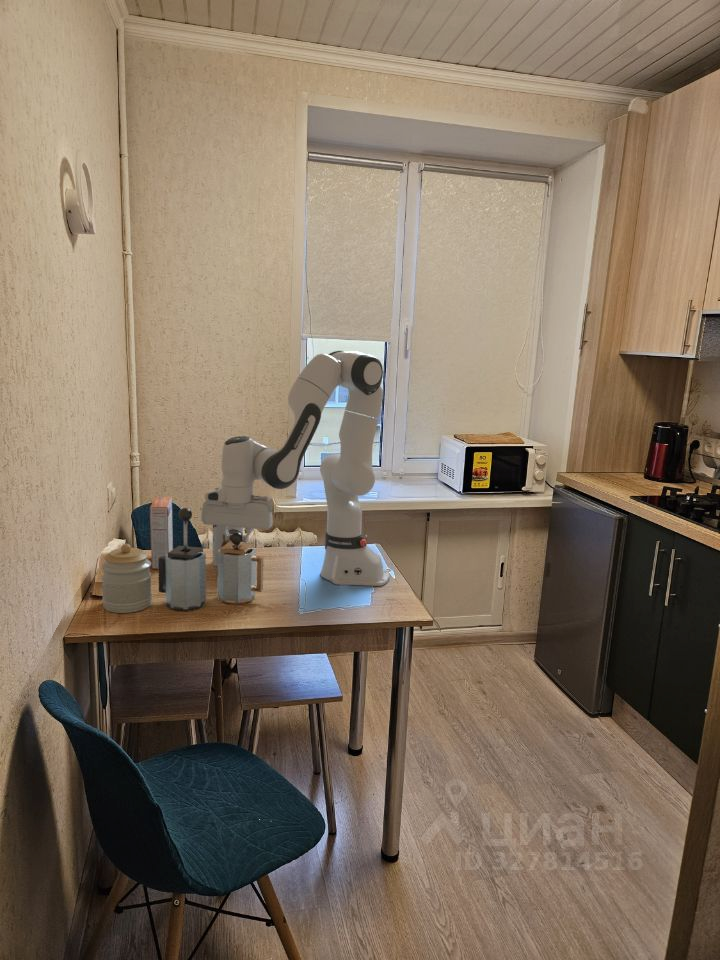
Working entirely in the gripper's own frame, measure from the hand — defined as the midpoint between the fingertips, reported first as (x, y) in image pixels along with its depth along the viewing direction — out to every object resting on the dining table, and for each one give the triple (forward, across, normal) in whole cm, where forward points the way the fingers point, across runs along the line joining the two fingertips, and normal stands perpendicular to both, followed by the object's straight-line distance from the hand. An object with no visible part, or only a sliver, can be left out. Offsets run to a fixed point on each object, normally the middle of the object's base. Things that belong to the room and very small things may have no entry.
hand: (236, 541), depth 189 cm
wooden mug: (+17, +7, -15) cm, 24 cm away
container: (+17, +13, -28) cm, 35 cm away
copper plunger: (+14, 0, 0) cm, 14 cm away
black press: (+17, +13, +8) cm, 23 cm away
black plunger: (+6, +12, +8) cm, 16 cm away
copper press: (+17, -1, 0) cm, 17 cm away
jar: (+17, +27, +13) cm, 35 cm away
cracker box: (+17, +34, -23) cm, 45 cm away
